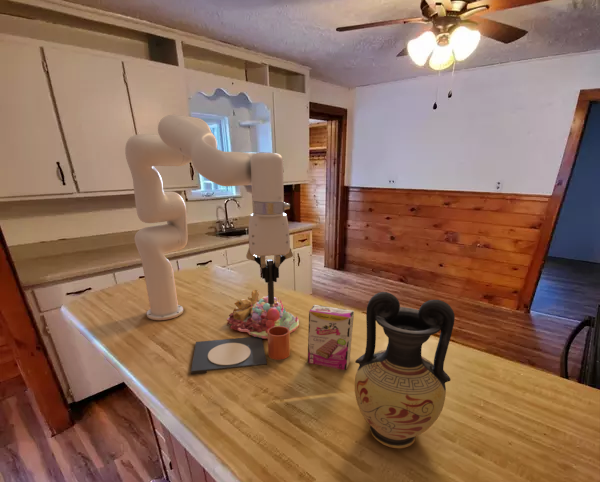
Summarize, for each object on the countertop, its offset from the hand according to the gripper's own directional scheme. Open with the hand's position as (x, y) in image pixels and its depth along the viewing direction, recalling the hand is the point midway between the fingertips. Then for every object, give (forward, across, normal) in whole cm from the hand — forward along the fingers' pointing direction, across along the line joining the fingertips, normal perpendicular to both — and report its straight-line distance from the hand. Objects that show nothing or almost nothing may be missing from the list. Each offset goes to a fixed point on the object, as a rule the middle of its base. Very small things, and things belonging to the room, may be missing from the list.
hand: (270, 280), depth 88 cm
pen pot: (+23, -2, 0) cm, 23 cm away
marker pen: (+8, 0, 0) cm, 8 cm away
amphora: (+23, -21, +34) cm, 46 cm away
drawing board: (+23, +12, -3) cm, 26 cm away
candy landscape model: (+23, 0, -22) cm, 31 cm away
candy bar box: (+23, -15, +7) cm, 28 cm away
